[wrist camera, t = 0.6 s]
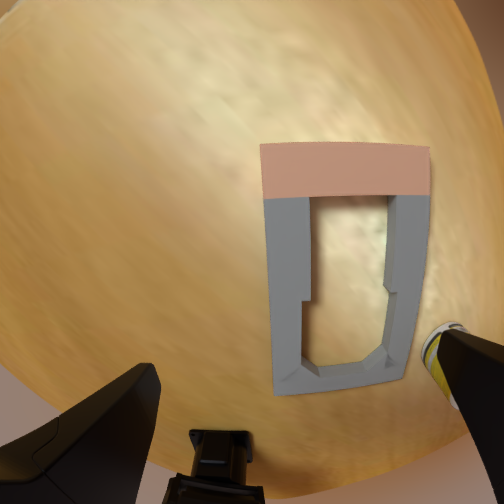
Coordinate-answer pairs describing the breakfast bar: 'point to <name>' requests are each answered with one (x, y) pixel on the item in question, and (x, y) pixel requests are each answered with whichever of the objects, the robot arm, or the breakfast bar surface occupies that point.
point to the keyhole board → (299, 250)
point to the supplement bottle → (432, 362)
